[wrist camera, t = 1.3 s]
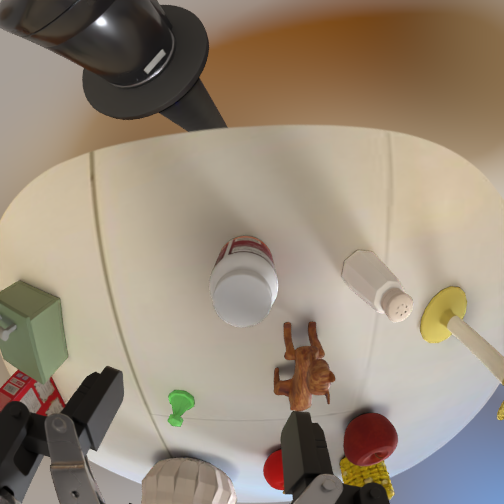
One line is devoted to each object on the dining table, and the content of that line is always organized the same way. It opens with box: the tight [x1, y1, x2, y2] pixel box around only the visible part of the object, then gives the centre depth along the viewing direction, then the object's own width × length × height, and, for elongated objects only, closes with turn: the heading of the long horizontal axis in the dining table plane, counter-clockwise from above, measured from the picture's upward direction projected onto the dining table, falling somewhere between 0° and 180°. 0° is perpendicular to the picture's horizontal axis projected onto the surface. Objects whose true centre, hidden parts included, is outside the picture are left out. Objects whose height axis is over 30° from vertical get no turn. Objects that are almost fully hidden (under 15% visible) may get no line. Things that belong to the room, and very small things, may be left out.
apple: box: [343, 413, 398, 466], centre depth 34 cm, size 10×10×10 cm
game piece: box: [168, 390, 195, 427], centre depth 35 cm, size 4×4×6 cm
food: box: [340, 457, 394, 500], centre depth 37 cm, size 15×12×10 cm
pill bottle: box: [209, 236, 278, 327], centre depth 26 cm, size 6×6×11 cm
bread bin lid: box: [0, 300, 46, 385], centre depth 25 cm, size 13×11×4 cm
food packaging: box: [0, 369, 65, 416], centre depth 28 cm, size 15×5×25 cm, turn 179°
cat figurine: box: [274, 321, 335, 411], centre depth 29 cm, size 18×7×14 cm, turn 1°
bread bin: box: [0, 281, 68, 382], centre depth 31 cm, size 12×11×8 cm
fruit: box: [263, 449, 285, 494], centre depth 37 cm, size 9×9×10 cm
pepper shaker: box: [342, 250, 413, 322], centre depth 26 cm, size 5×5×11 cm
